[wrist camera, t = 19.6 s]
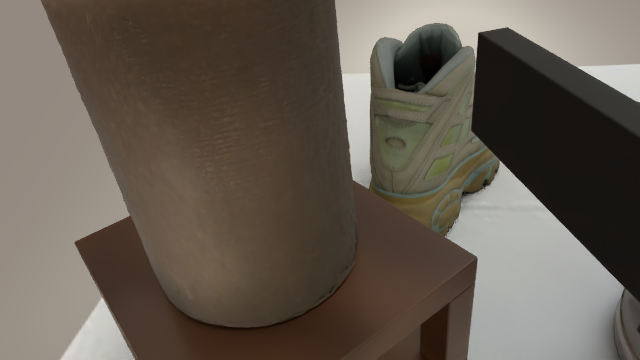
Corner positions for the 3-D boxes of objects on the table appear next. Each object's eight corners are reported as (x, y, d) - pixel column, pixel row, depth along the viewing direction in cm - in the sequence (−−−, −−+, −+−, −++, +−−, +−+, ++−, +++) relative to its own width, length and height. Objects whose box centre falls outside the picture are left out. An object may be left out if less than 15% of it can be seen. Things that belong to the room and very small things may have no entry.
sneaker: (548, 148, 47) (558, -18, 39) (432, 269, 36) (414, 76, 29) (447, 126, 54) (439, -17, 46) (326, 222, 44) (289, 58, 36)
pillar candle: (395, 279, 22) (385, -117, 13) (173, 367, 19) (-18, -49, 11) (313, 171, 29) (273, -125, 21) (146, 224, 27) (22, -87, 18)
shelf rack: (308, 257, 39) (289, 140, 33) (464, 391, 28) (478, 257, 22) (136, 362, 32) (73, 241, 26) (256, 584, 22) (197, 469, 16)
